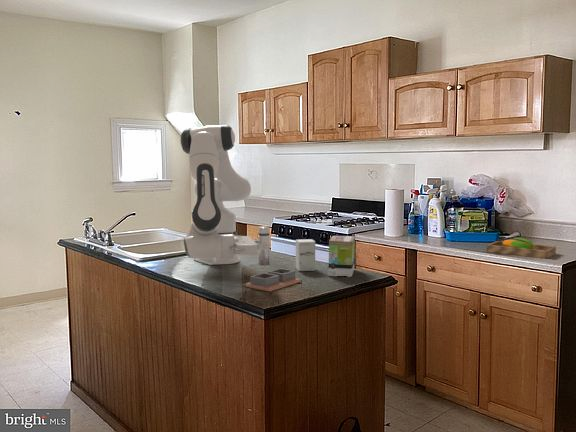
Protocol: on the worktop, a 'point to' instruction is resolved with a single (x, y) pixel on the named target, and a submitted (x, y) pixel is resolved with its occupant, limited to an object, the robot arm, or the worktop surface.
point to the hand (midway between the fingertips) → (266, 244)
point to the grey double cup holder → (273, 280)
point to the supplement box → (305, 255)
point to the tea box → (341, 256)
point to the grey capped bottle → (264, 253)
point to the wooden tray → (522, 250)
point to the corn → (519, 243)
